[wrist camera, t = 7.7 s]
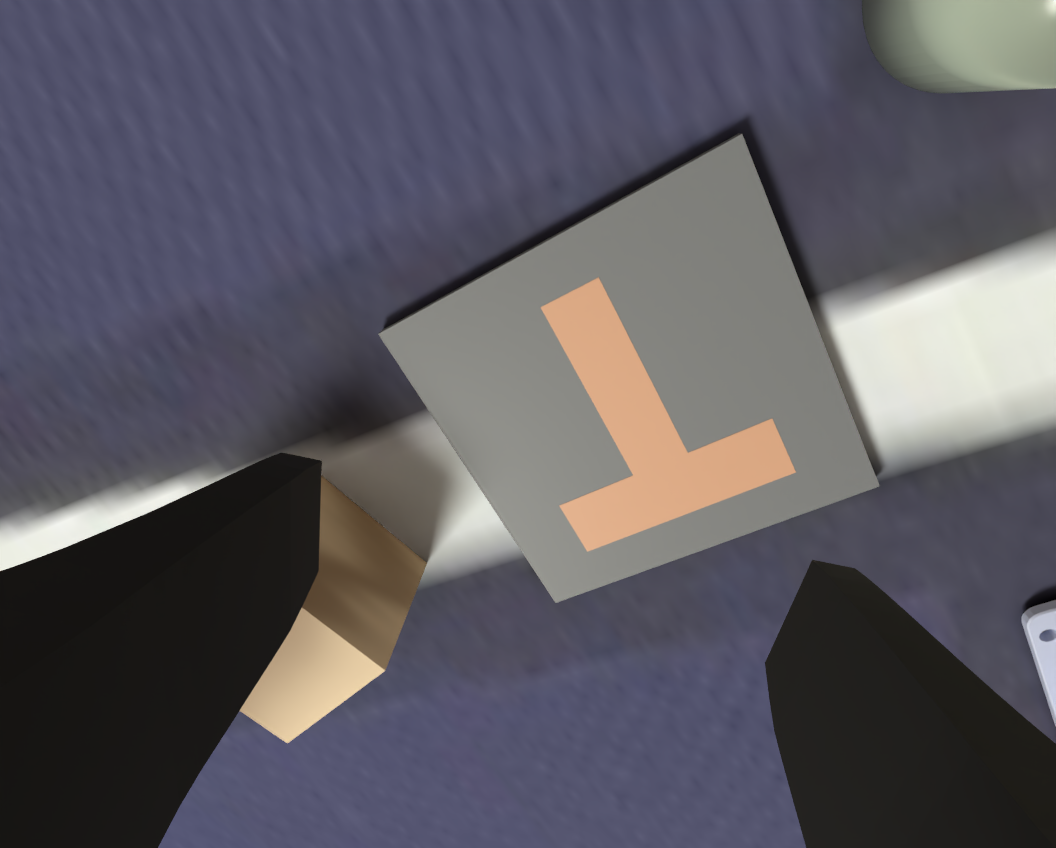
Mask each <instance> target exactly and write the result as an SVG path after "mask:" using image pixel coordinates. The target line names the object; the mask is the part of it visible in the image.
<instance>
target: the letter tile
mask: <svg viewBox="0 0 1056 848" xmlns="http://www.w3.org/2000/svg"><path fill="white" fill-rule="evenodd" d="M379 336H380V337H381V339H382V340H383V342H384V343H385V345H386V346H387V348H388V349H389V351H390V353H391V354H392V356H393V357H394V359H395V360H396V362H397V363H398V365H399V366H400V368H401V369H402V371H403V372H404V374H405V375H406V377H407V378H408V380H409V381H410V383H411V384H412V386H413V387H414V389H415V390H416V392H417V393H418V395H419V396H420V398H421V400H422V401H423V403H424V404H425V406H426V407H427V409H428V410H429V412H430V413H431V415H432V416H433V418H434V419H435V421H436V422H437V424H438V425H439V427H440V428H441V430H442V431H443V433H444V434H445V436H446V437H447V439H448V440H449V442H450V443H451V445H452V447H453V448H454V450H455V451H456V453H457V454H458V456H459V457H460V459H461V460H462V462H463V463H464V465H465V466H466V468H467V469H468V471H469V472H470V474H471V475H472V477H473V478H474V480H475V481H476V483H477V484H478V486H479V487H480V489H481V490H482V492H483V494H484V495H485V497H486V498H487V500H488V501H489V503H490V504H491V506H492V507H493V509H494V510H495V512H496V513H497V515H498V516H499V518H500V519H501V521H502V522H503V524H504V525H505V527H506V528H507V530H508V531H509V533H510V534H511V536H512V537H513V539H514V541H515V542H516V544H517V545H518V547H519V548H520V550H521V551H522V553H523V554H524V556H525V557H526V559H527V560H528V562H529V563H530V565H531V566H532V568H533V569H534V571H535V572H536V574H537V575H538V577H539V578H540V580H541V581H542V583H543V585H544V586H545V588H546V589H547V591H548V592H549V594H550V595H551V597H552V598H553V600H554V601H555V603H557V602H560V601H562V600H565V599H568V598H571V597H573V596H576V595H579V594H582V593H585V592H587V591H590V590H593V589H596V588H598V587H601V586H604V585H607V584H610V583H612V582H615V581H618V580H621V579H623V578H626V577H629V576H632V575H635V574H637V573H640V572H643V571H646V570H648V569H651V568H654V567H657V566H660V565H662V564H665V563H668V562H671V561H673V560H676V559H679V558H682V557H684V556H687V555H690V554H693V553H696V552H698V551H701V550H704V549H707V548H709V547H712V546H715V545H718V544H721V543H723V542H726V541H729V540H732V539H734V538H737V537H740V536H743V535H746V534H748V533H751V532H754V531H757V530H759V529H762V528H765V527H768V526H771V525H773V524H776V523H779V522H782V521H784V520H787V519H790V518H793V517H796V516H798V515H801V514H804V513H807V512H809V511H812V510H815V509H818V508H821V507H823V506H826V505H829V504H832V503H834V502H837V501H840V500H843V499H846V498H848V497H851V496H854V495H857V494H859V493H862V492H865V491H868V490H871V489H873V488H876V487H879V483H878V481H877V478H876V476H875V473H874V470H873V468H872V465H871V463H870V460H869V458H868V455H867V453H866V450H865V447H864V445H863V442H862V440H861V437H860V435H859V432H858V429H857V427H856V424H855V422H854V419H853V417H852V414H851V412H850V409H849V406H848V404H847V401H846V399H845V396H844V394H843V391H842V388H841V386H840V383H839V381H838V378H837V376H836V373H835V371H834V368H833V365H832V363H831V360H830V358H829V355H828V353H827V350H826V347H825V345H824V342H823V340H822V337H821V335H820V332H819V330H818V327H817V324H816V322H815V319H814V317H813V314H812V312H811V309H810V306H809V304H808V301H807V299H806V296H805V294H804V291H803V289H802V286H801V283H800V281H799V278H798V276H797V273H796V271H795V268H794V265H793V263H792V260H791V258H790V255H789V253H788V250H787V248H786V245H785V242H784V240H783V237H782V235H781V232H780V230H779V227H778V224H777V222H776V219H775V217H774V214H773V212H772V209H771V207H770V204H769V201H768V199H767V196H766V194H765V191H764V189H763V186H762V183H761V181H760V178H759V176H758V173H757V171H756V168H755V166H754V163H753V160H752V158H751V155H750V153H749V150H748V148H747V145H746V142H745V140H744V137H743V135H742V134H740V133H739V134H737V135H735V136H733V137H731V138H730V139H728V140H726V141H724V142H722V143H720V144H719V145H717V146H715V147H713V148H711V149H710V150H708V151H706V152H704V153H702V154H701V155H699V156H697V157H695V158H693V159H691V160H690V161H688V162H686V163H684V164H682V165H681V166H679V167H677V168H675V169H673V170H671V171H670V172H668V173H666V174H664V175H662V176H661V177H659V178H657V179H655V180H653V181H652V182H650V183H648V184H646V185H644V186H642V187H641V188H639V189H637V190H635V191H633V192H632V193H630V194H628V195H626V196H624V197H622V198H621V199H619V200H617V201H615V202H613V203H612V204H610V205H608V206H606V207H604V208H603V209H601V210H599V211H597V212H595V213H593V214H592V215H590V216H588V217H586V218H584V219H583V220H581V221H579V222H577V223H575V224H573V225H572V226H570V227H568V228H566V229H564V230H563V231H561V232H559V233H557V234H555V235H554V236H552V237H550V238H548V239H546V240H544V241H543V242H541V243H539V244H537V245H535V246H534V247H532V248H530V249H528V250H526V251H524V252H523V253H521V254H519V255H517V256H515V257H514V258H512V259H510V260H508V261H506V262H505V263H503V264H501V265H499V266H497V267H495V268H494V269H492V270H490V271H488V272H486V273H485V274H483V275H481V276H479V277H477V278H475V279H474V280H472V281H470V282H468V283H466V284H465V285H463V286H461V287H459V288H457V289H456V290H454V291H452V292H450V293H448V294H446V295H445V296H443V297H441V298H439V299H437V300H436V301H434V302H432V303H430V304H428V305H427V306H425V307H423V308H421V309H419V310H417V311H416V312H414V313H412V314H410V315H408V316H407V317H405V318H403V319H401V320H399V321H397V322H396V323H394V324H392V325H390V326H388V327H387V328H385V329H383V330H382V331H381V332H380V333H379Z"/></svg>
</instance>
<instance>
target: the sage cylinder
mask: <svg viewBox="0 0 1056 848" xmlns="http://www.w3.org/2000/svg"><path fill="white" fill-rule="evenodd" d="M862 15H863V25H864V29H865V33H866V38H867V40H868V43H869V45H870V48H871V50H872V52H873V54H874V55H875V57H876V59H877V61H878V62H879V63H880V64H881V66H882V67H883V68H884V69H885V71H887V72H888V73H889V74H890V75H891V76H892V77H893V78H895V79H896V80H898V81H899V82H901V83H903V84H904V85H906V86H909V87H911V88H914V89H916V90H920V91H925V92H930V93H961V92H982V91H1003V90H1025V89H1046V88H1056V0H862Z"/></svg>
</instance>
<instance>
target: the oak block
mask: <svg viewBox="0 0 1056 848" xmlns="http://www.w3.org/2000/svg"><path fill="white" fill-rule="evenodd" d="M426 564H427V563H426V562H425V561H424V560H423V559H421V558H420V557H419V556H418V555H417V554H415V553H414V552H413V551H412V550H411V549H409V548H408V547H407V546H406V545H405V544H403V543H402V542H401V541H400V540H398V539H397V538H396V537H395V536H394V535H392V534H391V533H390V532H389V531H388V530H386V529H385V528H384V527H383V526H382V525H380V524H379V523H378V522H377V521H376V520H374V519H373V518H372V517H371V516H369V515H368V514H367V513H366V512H365V511H363V510H362V509H361V508H360V507H359V506H357V505H356V504H355V503H354V502H353V501H351V500H350V499H349V498H348V497H347V496H345V495H344V494H343V493H342V492H340V491H339V490H338V489H337V488H336V487H334V486H333V485H332V484H331V483H330V482H328V481H327V480H326V479H325V478H324V477H322V476H321V503H320V541H319V571H318V574H317V576H316V578H315V580H314V582H313V584H312V587H311V589H310V591H309V593H308V595H307V598H306V600H305V602H304V604H303V606H302V608H301V610H300V612H299V614H298V616H297V618H296V620H295V622H294V624H293V626H292V628H291V630H290V632H289V634H288V635H287V637H286V639H285V640H284V642H283V643H282V645H281V647H280V648H279V650H278V651H277V653H276V654H275V656H274V658H273V659H272V661H271V662H270V664H269V665H268V667H267V669H266V670H265V672H264V673H263V675H262V676H261V678H260V680H259V681H258V683H257V684H256V686H255V687H254V689H253V690H252V692H251V694H250V695H249V697H248V698H247V700H246V701H245V703H244V704H243V706H242V707H241V709H240V711H241V712H243V713H244V714H245V715H247V716H248V717H250V718H251V719H253V720H254V721H256V722H257V723H259V724H260V725H261V726H263V727H264V728H266V729H267V730H269V731H270V732H272V733H273V734H274V735H276V736H277V737H279V738H280V739H282V740H283V741H285V742H286V743H289V742H290V741H291V740H293V739H294V738H295V737H297V736H298V735H299V734H301V733H302V732H303V731H305V730H306V729H307V728H309V727H310V726H311V725H313V724H314V723H315V722H317V721H318V720H320V719H321V718H322V717H324V716H325V715H326V714H328V713H329V712H330V711H332V710H333V709H334V708H336V707H337V706H338V705H340V704H341V703H342V702H344V701H345V700H346V699H348V698H349V697H350V696H352V695H353V694H354V693H356V692H357V691H358V690H360V689H361V688H362V687H364V686H365V685H366V684H368V683H369V682H371V681H372V680H373V679H375V678H376V677H377V676H379V675H380V674H381V673H383V672H384V671H385V670H386V667H387V665H388V662H389V660H390V657H391V654H392V652H393V649H394V647H395V644H396V642H397V639H398V636H399V634H400V631H401V629H402V626H403V624H404V621H405V618H406V616H407V613H408V611H409V608H410V605H411V603H412V600H413V598H414V595H415V593H416V590H417V587H418V585H419V582H420V580H421V577H422V575H423V572H424V569H425V567H426Z"/></svg>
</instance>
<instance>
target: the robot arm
mask: <svg viewBox="0 0 1056 848" xmlns="http://www.w3.org/2000/svg"><path fill="white" fill-rule="evenodd" d="M321 466H322V461H320V460H315V459H310V458H305V457H300V456H295V455H290V454H285V453H279V454H276V455H274V456H271V457H269V458H266V459H264V460H262V461H259V462H257V463H255V464H253V465H251V466H248V467H246V468H244V469H242V470H240V471H238V472H236V473H233V474H231V475H229V476H227V477H225V478H223V479H221V480H219V481H216V482H214V483H212V484H210V485H208V486H206V487H204V488H202V489H199V490H197V491H195V492H193V493H191V494H189V495H186V496H184V497H182V498H180V499H178V500H176V501H173V502H171V503H169V504H167V505H165V506H163V507H160V508H158V509H156V510H154V511H152V512H149V513H147V514H145V515H142V516H140V517H138V518H135V519H133V520H130V521H128V522H126V523H123V524H121V525H118V526H116V527H114V528H111V529H109V530H106V531H104V532H102V533H99V534H97V535H94V536H92V537H90V538H87V539H85V540H82V541H80V542H78V543H75V544H73V545H71V546H68V547H66V548H63V549H60V550H58V551H55V552H53V553H50V554H47V555H45V556H42V557H39V558H36V559H34V560H31V561H28V562H25V563H23V564H20V565H17V566H15V567H12V568H9V569H6V570H3V571H0V848H158V846H159V844H160V843H161V841H162V839H163V837H164V835H165V833H166V831H167V829H168V827H169V825H170V823H171V822H172V820H173V818H174V816H175V814H176V812H177V810H178V808H179V806H180V805H181V803H182V801H183V800H184V798H185V796H186V795H187V793H188V791H189V790H190V788H191V786H192V784H193V783H194V781H195V779H196V778H197V776H198V774H199V773H200V771H201V769H202V768H203V766H204V765H205V763H206V762H207V760H208V759H209V757H210V756H211V754H212V752H213V751H214V749H215V748H216V746H217V745H218V743H219V742H220V740H221V738H222V737H223V735H224V734H225V732H226V731H227V729H228V728H229V726H230V725H231V723H232V721H233V720H234V718H235V717H236V715H237V714H238V712H239V711H240V709H241V707H242V706H243V704H244V703H245V701H246V700H247V698H248V697H249V695H250V694H251V692H252V690H253V689H254V687H255V686H256V684H257V683H258V681H259V680H260V678H261V676H262V675H263V673H264V672H265V670H266V669H267V667H268V665H269V664H270V662H271V661H272V659H273V658H274V656H275V654H276V653H277V651H278V650H279V648H280V647H281V645H282V643H283V642H284V640H285V639H286V637H287V635H288V634H289V632H290V630H291V628H292V626H293V624H294V622H295V620H296V618H297V616H298V614H299V612H300V610H301V608H302V606H303V604H304V602H305V600H306V598H307V595H308V593H309V591H310V589H311V587H312V584H313V582H314V580H315V578H316V576H317V574H318V571H319V541H320V503H321ZM1022 624H1023V627H1024V631H1025V634H1026V637H1027V640H1028V643H1029V646H1030V649H1031V652H1032V655H1033V658H1034V661H1035V664H1036V668H1037V671H1038V674H1039V677H1040V680H1041V683H1042V686H1043V689H1044V692H1045V695H1046V698H1047V701H1048V705H1049V708H1050V711H1051V714H1052V717H1053V720H1054V723H1055V726H1056V600H1053V601H1050V602H1047V603H1043V604H1040V605H1036V606H1033V607H1031V608H1029V609H1028V610H1026V611H1025V612H1024V614H1023V615H1022ZM1045 630H1047V631H1045ZM1043 631H1045V632H1043ZM765 666H766V674H767V682H768V691H769V699H770V705H771V712H772V718H773V725H774V731H775V735H776V739H777V743H778V747H779V750H780V754H781V758H782V762H783V765H784V769H785V773H786V776H787V780H788V784H789V787H790V791H791V794H792V798H793V802H794V805H795V809H796V812H797V816H798V819H799V823H800V826H801V830H802V834H803V837H804V841H805V844H806V848H1056V744H1055V743H1054V742H1053V741H1052V740H1050V739H1049V738H1048V737H1047V736H1046V735H1044V734H1043V733H1042V732H1041V731H1040V730H1038V729H1037V728H1036V727H1035V726H1034V725H1032V724H1031V723H1030V722H1029V721H1028V720H1026V719H1025V718H1024V717H1023V716H1022V715H1021V714H1020V713H1018V712H1017V711H1016V710H1015V709H1014V708H1013V707H1011V706H1010V705H1009V704H1008V703H1007V702H1006V701H1005V700H1003V699H1002V698H1001V697H1000V696H999V695H998V694H997V693H995V692H994V691H993V690H992V689H991V688H990V687H989V686H988V685H986V684H985V683H984V682H983V681H982V680H981V679H980V678H979V677H977V676H976V675H975V674H974V673H973V672H972V671H971V670H970V669H969V668H967V667H966V666H965V665H964V664H963V663H962V662H961V661H960V660H959V659H957V658H956V657H955V656H954V655H953V654H952V653H951V652H950V651H949V650H948V649H946V648H945V647H944V646H943V645H942V644H941V643H940V642H939V641H938V640H937V639H935V638H934V637H933V636H932V635H931V634H930V633H929V632H928V631H927V630H926V629H925V628H923V627H922V626H921V625H920V624H919V623H918V622H917V621H916V620H915V619H914V618H912V617H911V616H910V615H909V614H908V613H907V612H906V611H905V610H904V609H903V608H901V607H900V606H899V605H898V604H897V603H896V602H895V601H894V600H892V599H891V598H890V597H889V596H888V595H887V594H886V593H885V592H883V591H882V590H881V589H880V588H879V587H878V586H876V585H875V584H874V583H873V582H872V581H870V580H869V579H868V578H867V577H865V576H864V575H863V574H862V573H860V572H859V571H858V570H856V569H855V568H850V567H845V566H840V565H835V564H830V563H825V562H820V561H815V560H812V562H811V564H810V566H809V569H808V571H807V573H806V575H805V577H804V579H803V582H802V584H801V586H800V588H799V590H798V592H797V595H796V597H795V599H794V601H793V603H792V605H791V608H790V610H789V612H788V614H787V616H786V619H785V621H784V623H783V625H782V627H781V629H780V632H779V634H778V636H777V638H776V640H775V642H774V645H773V647H772V649H771V651H770V653H769V655H768V658H767V660H766V662H765Z"/></svg>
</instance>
